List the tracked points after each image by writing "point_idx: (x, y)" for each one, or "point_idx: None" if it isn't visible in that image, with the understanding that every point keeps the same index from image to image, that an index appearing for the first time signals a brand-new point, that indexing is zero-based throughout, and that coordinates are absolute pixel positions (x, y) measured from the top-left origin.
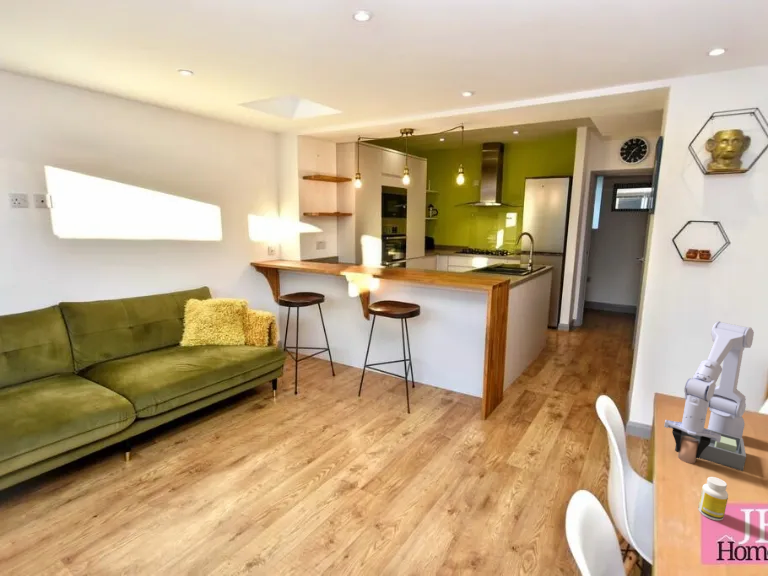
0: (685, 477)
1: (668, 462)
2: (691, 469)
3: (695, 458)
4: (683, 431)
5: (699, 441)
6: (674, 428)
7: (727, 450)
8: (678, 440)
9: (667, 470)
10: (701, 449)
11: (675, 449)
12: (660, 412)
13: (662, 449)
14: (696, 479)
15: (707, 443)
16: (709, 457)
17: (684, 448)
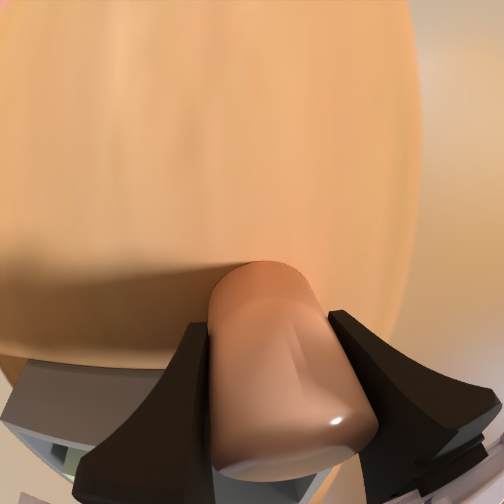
0: (258, 9)
1: (376, 167)
2: (222, 173)
3: (210, 318)
4: (396, 499)
5: (211, 470)
6: (476, 464)
7: (66, 445)
8: (408, 378)
9: (376, 40)
10: (168, 391)
11: None
12: (327, 488)
13: (386, 318)
14: (181, 34)
15: (89, 476)
16: (147, 386)
17: (322, 338)
